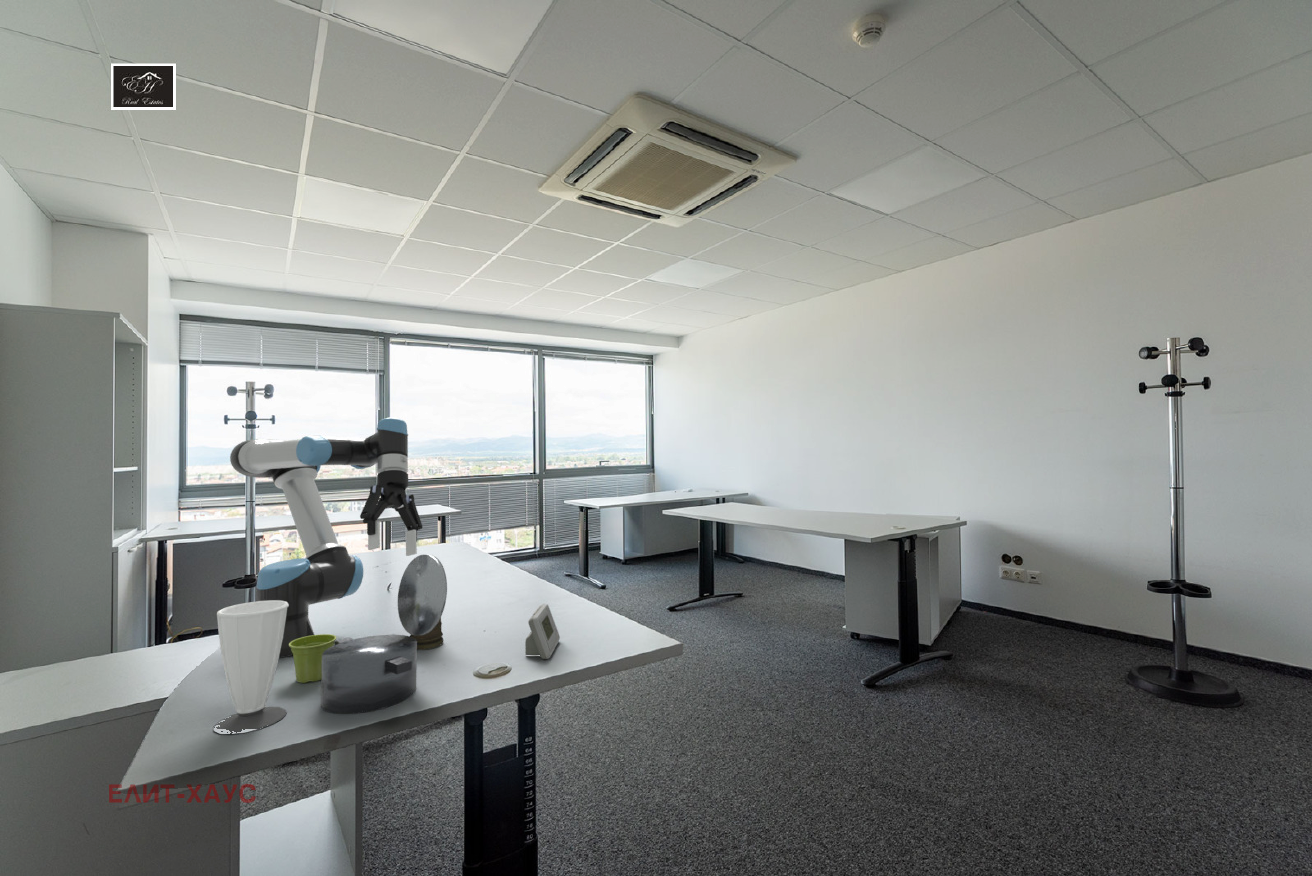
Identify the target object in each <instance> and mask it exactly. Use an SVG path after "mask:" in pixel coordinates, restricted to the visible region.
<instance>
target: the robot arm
mask: <svg viewBox="0 0 1312 876" xmlns="http://www.w3.org/2000/svg"><path fill="white" fill-rule="evenodd" d="M376 426H377V428H376V431H377V432H375V433H373V434H371V435H370V436H367V437H363V438H362V437H345V436H343V437H339V436H338V437H337V436H323V435H308V436H304V437H302V438H299V439H298V438H297V439H290V440H289V439H288V440H287V439H286V440H285V439H281V440H280V439H264V438H257V439H255V438H254V439H249V440H244V441H242V442H239V443H238V444H236V445H235V446H234V448H233V449H232V450H231V453H230V456H229V457H230V459H229V460H230V464H231V466H232V467H233V470H235V471H236V472H237V473H239V474H241V475H242V476H246V477H250V478H259V479H262V478H263V479H266V478H269V479H270V478H271V479H272V481H273V483H274V486H275V487H276V488H277V489H280V490H282V492H283V494H284V497H285V500H286V502H287V505H288V508H289V511H290V514H291V516H292V517H291V518H292V519H293V522H294V525H295V528H296V530H297V533H298V536H299V539H300V542H301V545H302V547H303V551H304V553H305V558H303V557H301V558H300V557H299V558H292V559H285V560H280V561H277V562H272V563H270V564H268V565H267V564H266V565H265V566H264V567H262V568H261V569H260V570H259V572H258V573H257V580H256V586H255V587H256V602H257V601H269V600H279V601H286V602H287V603H288V604H289V606H288V607H287V613H286V621H285V627H284V634H283V640H282V645H281V649H280V654H279V657H280V658H286V657H290V656H293V653H292V651H291V647H289V643H290V642H292V641H293V640H296V639H299V638H302V637H306V636H312V635H316V633H315V632H314V629H313V626H312V624H311V622H310V618H309V606H310V605H315V604H320V603H324V602H328V601H332V600H339V599H343V598H345V597H349V596H351V595H354V594H355V593H356V592H357V591H358V590H359V589H360V587H361V585H362V583H363V578H364V565H363V562H362V559H360V557H358V556H356V555H354V554H352V555H351V554H349V551H348V549H347V547H346V546H345V545H341V544H339V542H338V540H337V539H338V538H337V537H336V533H335V531H334V529H333V526H332V524H331V523H332V522H331V521H330V519H329V516H328V513H327V510H326V507H325V505H324V503H323V499H322V497H321V494H320V492H319V488H318V487H317V484H316V481H315V480H316V479H317V477H318V476H319V474H318V473H319V472H320V469H321V467H322V466H351V467H353V468H354V469H356V470H364V469H368V468H371V467H374V466H375V465H376V473H377V477H376V478H377V479H376V480H377V481H376V483H377V484H375V485H371V486H370V488H369V494H368V497H367V499H366V502H365V504H364V505H363V508H362V510H361V513H360V514H359V517H360V519H361V520H362V523H363V524H366V534H367V536H368V537H367V538H368V539H367V550H370V551H371V550H372V551H373V550H375V549H379V548H380V547H381V545H380V544H381V543H380V542H381V531H380V530H381V522H380V521H379V518H380V516H381V515H382V514H383V513H384V512H385V509H386V508H391V509H394V510H395V512H397V513H398V516H400V518H401V520H402V522H403V524H404V526H405V528H406V531H405V556H407V557H409V556H413V555H416V554H417V550H418V549H417V542H418V531H419V530H421V529H423V523H422V520H421V518H420V515H419V511H418V508H417V506H416V502H415V496H414V494H407V493H406V489H407V488H408V487H409V473H408V472H409V463H408V460H409V459H408V458H409V457H408V456H409V453H408V452H409V451H408V450H409V448H408V447H409V445H408V444H409V441H408V439H409V438H408V437H409V434H408V425H407V423H406V421H405V420H403V419H401V418H398V417H387V418H382V419H380V420H379V421H378V423H377V425H376Z"/></svg>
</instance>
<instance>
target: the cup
mask: <svg viewBox="0 0 1312 876" xmlns="http://www.w3.org/2000/svg"><path fill="white" fill-rule="evenodd" d="M288 606H289V604H288V603H287V602H286V601H279V600H269V601H257V600H256V601H251V602H244V603H238V604H234V605H231V606H225V607H224V608H222V609H220V610H218V611H217V612H216V618H217V619H216V620H217V629H218V638H219V639H218V640H219V646H220V648H219V649H220V654H221V659H222V664H223V665H222V666H223V670H224V675H225V680H226V684H227V687H228V691H229V696H230V698H231V701H232V704H233V706H234V707H233V708H234V710H235V713H234V714H231V715H230V716H231V717H229V718H226V717H225V718H226V719H225V718H223V719H222V720H225V721H223V722H220V723H218V722H217V723H218V724H217V723H216V724H215V725H220V727H219V726H218V727H216V728H217V729H226V730H229V731H230V732H231V733H230V734H232V733H233V732H232V731H234V732H236V733H237V732H241V731H242V729H243V730H245V729H260V728H262V727H265V726H267V725H270V726H272V724H273V725H274V723H275V722H276V723H278V722H279V721H278V720H280V721H281V719H282V718H283V719H284V717H285V716H286V715H287V710H286V709H285V708H282V707H280V706H267V701H268V698H269V695H270V693H271V691H272V687H273V683H274V680H275V675H276V670H277V667H278V664H279V659H280V658H279V654H280V649H281V645H282V640H283V634H284V627H285V621H286V613H287V607H288ZM277 721H278V722H277ZM276 723H275V724H276ZM213 727H214V726H213ZM214 728H215V727H214ZM265 728H266V727H265ZM262 729H263V728H262ZM260 730H261V729H260ZM221 732H223V731H221ZM227 733H228V732H227Z"/></svg>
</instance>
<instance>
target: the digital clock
mask: <svg viewBox="0 0 1312 876" xmlns="http://www.w3.org/2000/svg"><path fill="white" fill-rule="evenodd" d="M528 626H529V629H530V631H531V632H530V633H529V634H528V636H527V637H526V639H525V642H524V643H525V645H524V646H525V647H524V648H525V651H524V652H525V655H540V656H539V657H540V658H541V659H543V660H547V659H549V658H550V657H551V656H552V654H553V652H554V651H555V649H556V647H557V645H558V643H559V641H560V639H561V636H560V633H559V631H558V628H557V625H556V623H555V620H554V617H553V614H552V610H551V609H550V606H549V604H547V603H543V604H541V605H540V606H538V608H537V609H536V610H535V611H534V613H532V616H531V617H530V618H529V619H528Z"/></svg>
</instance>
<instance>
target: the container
mask: <svg viewBox="0 0 1312 876" xmlns="http://www.w3.org/2000/svg"><path fill="white" fill-rule="evenodd" d="M442 624H443V623H442V617H441V618H440V620H439V622H438V623H437V625H436V626H435V627H434V628H433V630H431V631H430V632H429V633H427V634H425V635H416V636H415V635H411V634H409V636H410V637H413V638H415V639H416V640H417V651H425V650H426V651H427V650H432V649H435V648H437V647H440V646H441V645H444V638H443V635H444V633H443V632H442Z"/></svg>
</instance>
